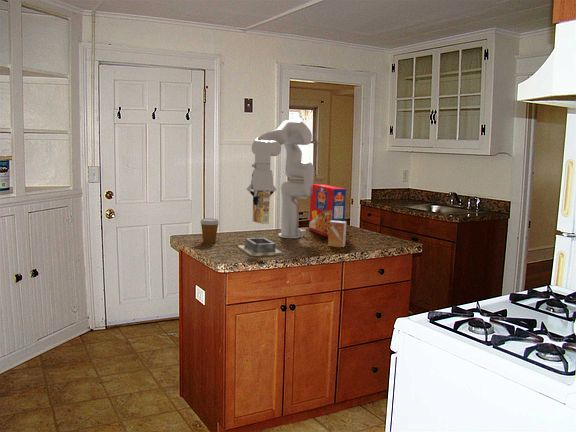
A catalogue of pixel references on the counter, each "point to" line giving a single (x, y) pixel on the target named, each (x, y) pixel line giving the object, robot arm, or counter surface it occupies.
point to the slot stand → (259, 247)
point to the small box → (337, 233)
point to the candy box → (261, 208)
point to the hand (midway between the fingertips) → (261, 204)
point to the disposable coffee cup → (209, 230)
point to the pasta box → (326, 207)
